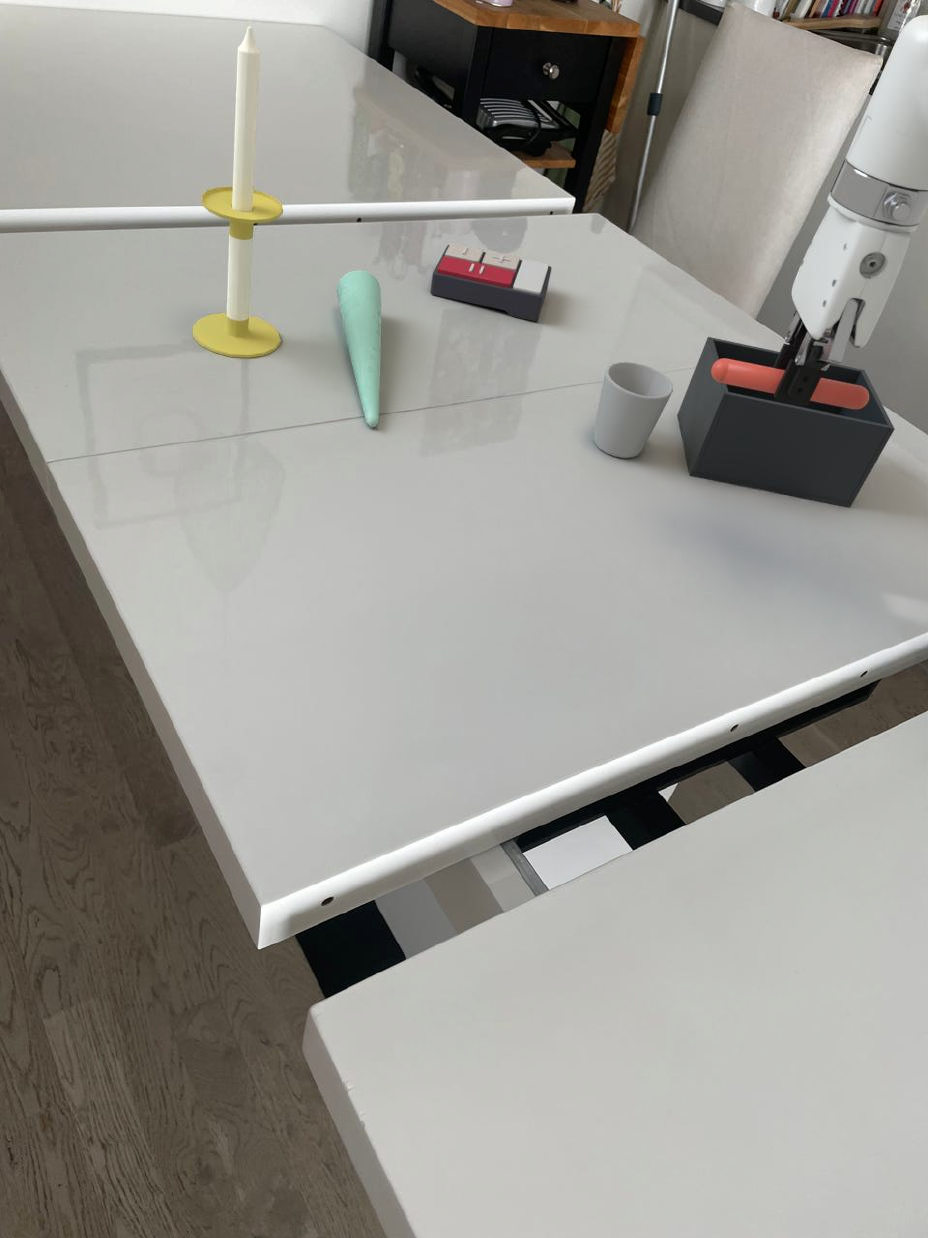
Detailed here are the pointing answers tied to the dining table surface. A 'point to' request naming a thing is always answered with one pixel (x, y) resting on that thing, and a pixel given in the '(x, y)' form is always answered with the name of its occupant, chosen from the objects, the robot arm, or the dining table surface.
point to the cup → (629, 407)
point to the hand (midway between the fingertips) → (786, 392)
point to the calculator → (492, 280)
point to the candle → (241, 226)
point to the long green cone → (363, 335)
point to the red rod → (771, 377)
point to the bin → (779, 432)
